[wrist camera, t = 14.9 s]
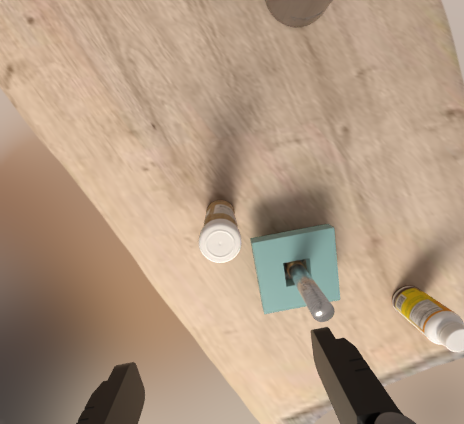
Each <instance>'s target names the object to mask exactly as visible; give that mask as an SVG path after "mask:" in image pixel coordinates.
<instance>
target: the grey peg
mask: <svg viewBox="0 0 464 424" xmlns="http://www.w3.org/2000/svg"><path fill="white" fill-rule="evenodd" d="M283 266H284V273H285V280H286V279H291V278H292V280H293V282H294V284H295V285H296V287H297V289H298V291H299V292H300V294H301V296H302V298H303V300H304V301H305V303H306V305H307V307H308V308H309V310H310V312H311V314H312V316H313V317H314V319H315V320H317V321H319V322H325V321H328V320H329V319H331V318H332V317H333V315H334V307H333V306H332V304H331V303H330V302H329V300H328V299H327V298H326V296H325V295H324V293H323V292H322V291H321V289H320V288H319V287H318V285H317V284H316V282H315V281H314V280H313V278H312V277H311V276H310V274H309V273H308V272H307V265H306V259H302V260H297V261H292V262H286V263H283Z"/></svg>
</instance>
